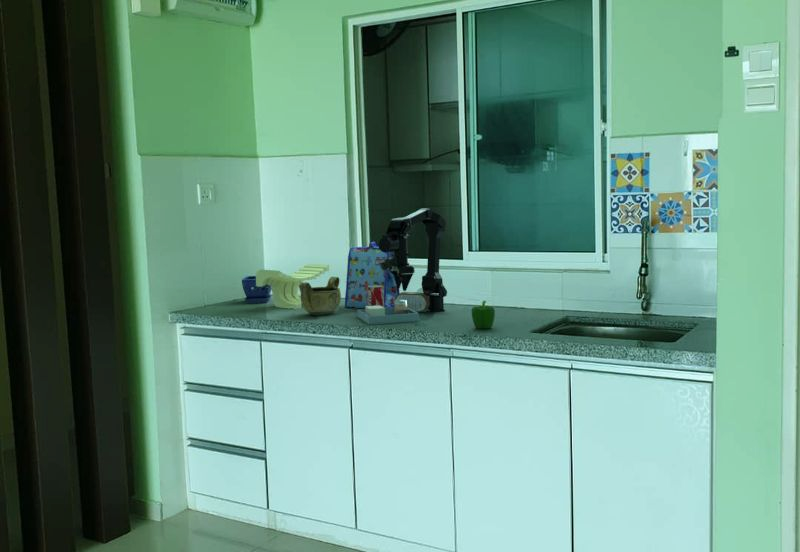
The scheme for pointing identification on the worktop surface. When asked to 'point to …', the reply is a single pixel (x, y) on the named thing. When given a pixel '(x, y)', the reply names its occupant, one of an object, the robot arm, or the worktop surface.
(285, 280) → the slatted curved stool
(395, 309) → the food can
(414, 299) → the tin
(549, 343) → the worktop surface
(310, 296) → the ceramic bowl
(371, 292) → the soda can
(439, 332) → the worktop surface
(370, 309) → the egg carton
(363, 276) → the lunch bag
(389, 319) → the teal tray
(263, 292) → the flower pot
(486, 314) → the bell pepper
